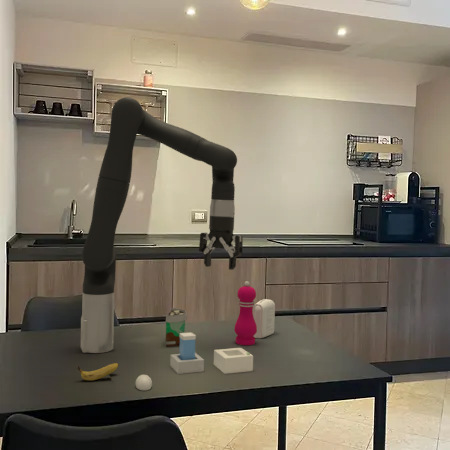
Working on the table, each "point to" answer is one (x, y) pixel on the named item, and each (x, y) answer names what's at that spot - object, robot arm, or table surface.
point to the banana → (98, 372)
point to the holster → (187, 364)
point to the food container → (175, 326)
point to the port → (233, 360)
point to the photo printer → (264, 317)
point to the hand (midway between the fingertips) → (219, 267)
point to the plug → (187, 346)
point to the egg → (143, 382)
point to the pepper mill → (246, 316)
